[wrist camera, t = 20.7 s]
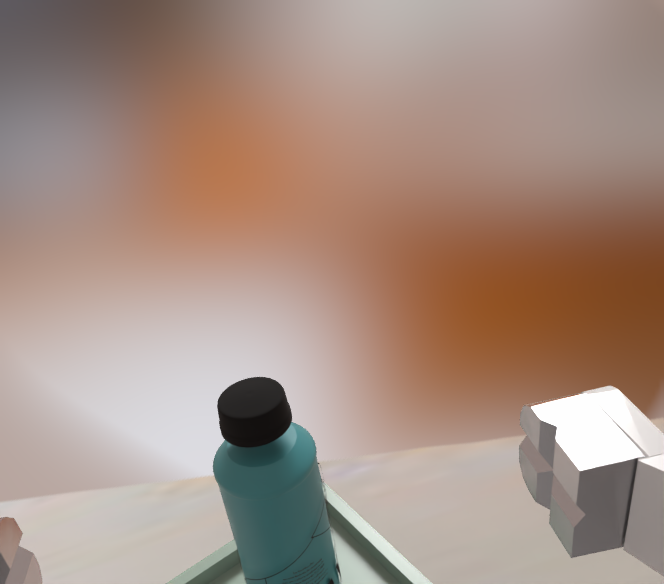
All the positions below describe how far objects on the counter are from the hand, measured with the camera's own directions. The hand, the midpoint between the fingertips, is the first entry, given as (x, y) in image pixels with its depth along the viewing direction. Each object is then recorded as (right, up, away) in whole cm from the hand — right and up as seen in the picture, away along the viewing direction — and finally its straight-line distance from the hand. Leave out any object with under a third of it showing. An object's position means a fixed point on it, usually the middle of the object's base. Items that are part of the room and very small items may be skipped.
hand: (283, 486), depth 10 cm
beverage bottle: (-1, -20, +33) cm, 39 cm away
